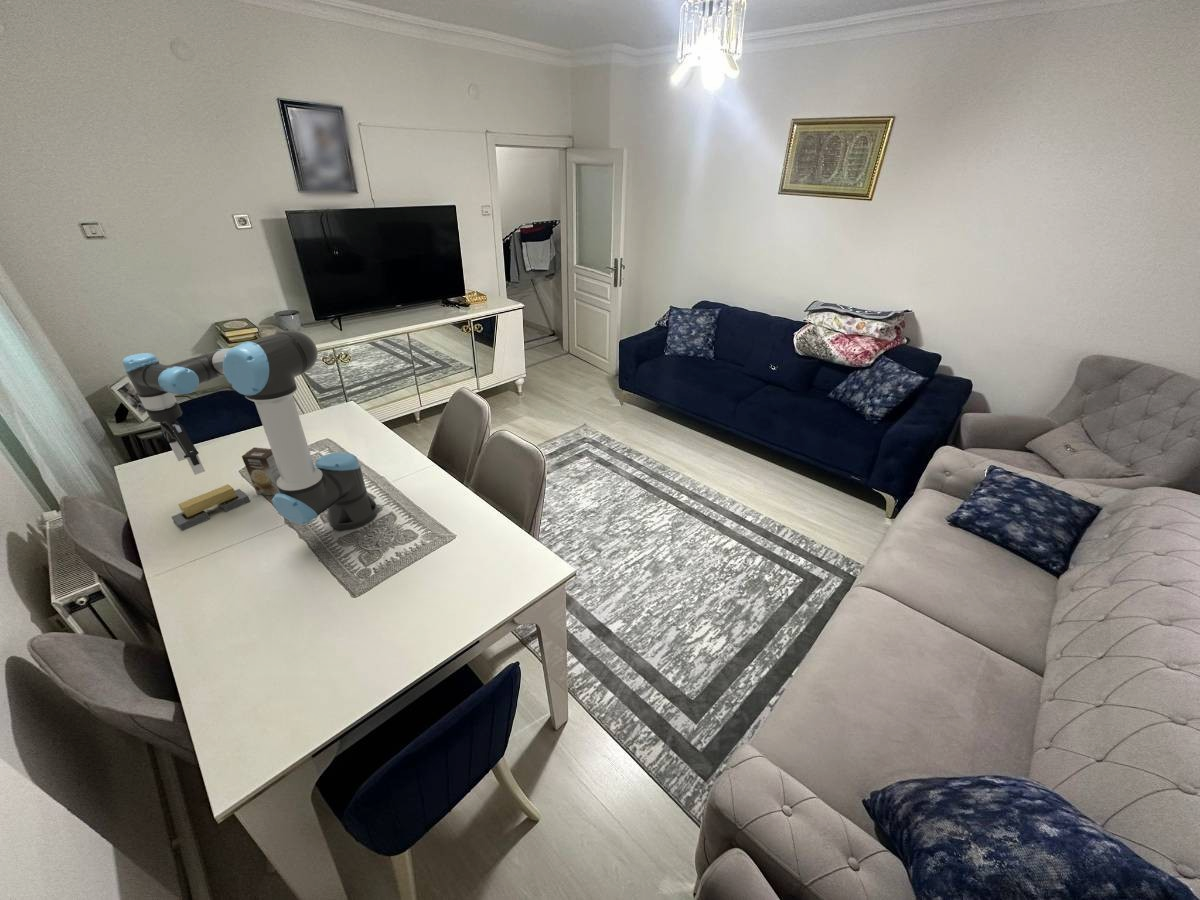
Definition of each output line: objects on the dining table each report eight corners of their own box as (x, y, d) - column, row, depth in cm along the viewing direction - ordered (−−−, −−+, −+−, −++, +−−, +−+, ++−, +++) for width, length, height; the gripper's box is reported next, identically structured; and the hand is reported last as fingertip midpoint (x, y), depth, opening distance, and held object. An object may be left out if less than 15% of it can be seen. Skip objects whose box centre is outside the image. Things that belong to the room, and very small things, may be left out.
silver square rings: (250, 501, 168) (248, 495, 167) (182, 530, 154) (179, 524, 153) (241, 494, 172) (239, 488, 170) (174, 522, 157) (171, 516, 156)
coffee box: (255, 494, 172) (239, 456, 164) (268, 484, 177) (253, 447, 169) (280, 496, 171) (264, 458, 163) (291, 486, 176) (277, 448, 168)
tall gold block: (240, 503, 167) (233, 488, 164) (191, 524, 157) (182, 508, 154) (235, 499, 169) (228, 484, 166) (186, 519, 159) (178, 504, 156)
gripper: (192, 412, 139) (220, 473, 150) (162, 391, 152) (190, 449, 162) (161, 421, 134) (192, 484, 145) (132, 399, 146) (163, 458, 157)
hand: (191, 466), depth 154 cm, fingers open, 13 cm apart
